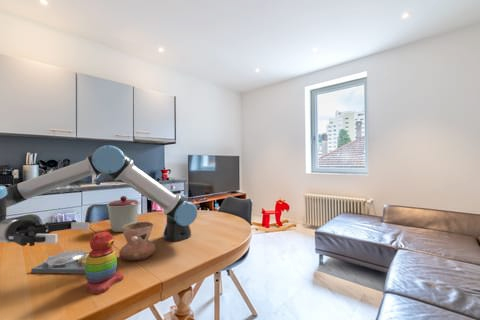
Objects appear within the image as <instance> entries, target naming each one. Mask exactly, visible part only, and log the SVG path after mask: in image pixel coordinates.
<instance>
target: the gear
mask: <svg viewBox="0 0 480 320" xmlns="http://www.w3.org/2000/svg"><path fill="white" fill-rule="evenodd" d="M88 253H89V251H88V250H85V251H83V249H76V250H69V251H68V250H65V251H63V252H61V253H57V254H55V255H53V254H52V255H49V256H48V257H47V260H43V261H42V263H43V266H48V269H53V268H55V267H62V266H65V267H67V266H70V264H73V263H76V262H78V259H79V258H82V257H84V256H85V255H86V254H88Z"/></svg>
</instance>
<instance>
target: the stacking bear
mask: <svg viewBox="0 0 480 320" xmlns="http://www.w3.org/2000/svg"><path fill="white" fill-rule="evenodd" d="M114 243H115V238H114V236H113V235H112V234H111V233H110V232H109V231H108V230H106V229H105V230H104V231H102V232H98V233H95V234H94V235H93V236H92V237H91V239H90V240H89V246H90V249H91V251H89V252H90V253H89V252H88V253H89V255H88V256H87V260H86V264H85V273H84V275H85V276H86V280H87V282H86V284H85V288H86V291H87V292H90V293H91V294H97V295H98V294H104V293H105V292H107V291H108V290H109V289H110V288H111V287H112V285H114V284H116V283H119V282H121V281H122V280H123V279H124V274H123V273H122V272H117V265H118V260H117V259H118V258H117V253H116V251H115V248H114V247H113V245H114ZM115 253H116V254H115Z"/></svg>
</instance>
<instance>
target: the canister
mask: <svg viewBox="0 0 480 320" xmlns="http://www.w3.org/2000/svg"><path fill="white" fill-rule="evenodd" d="M139 205H140V201H138V200H136V199H128V198H127V196H126V195H122V196H120V198H119V200H114V201H110V202H109V203H107V204H106V207H107V210H108V218H109V225H110V228H111V231H113V232H115V233H123V226H124V225H127V224H130V223H135V222H138V221H137V218H138V212H139V211H138V210H139Z"/></svg>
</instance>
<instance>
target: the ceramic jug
mask: <svg viewBox="0 0 480 320" xmlns="http://www.w3.org/2000/svg"><path fill="white" fill-rule="evenodd" d="M153 226H154V224H153V223H152V222H149V221H136V222H135V223H130V224H127V225H124V226H123V232H122V233H123V236H124V238H125V240H126V242H127V243H126V244H124V245H123V246H122V247H121V248H120V249H119V252H118V254H119V257H120V258H121V259H122V260H124V261H128V262H133V261H134V262H137V261H141V260H144V259H146V258H148V257H150V256H151V255H153V254H154V252H155V251H156V245H155V243H154V242H151V241H150V240H149V238H150V236H151V233H152V230H153Z"/></svg>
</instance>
